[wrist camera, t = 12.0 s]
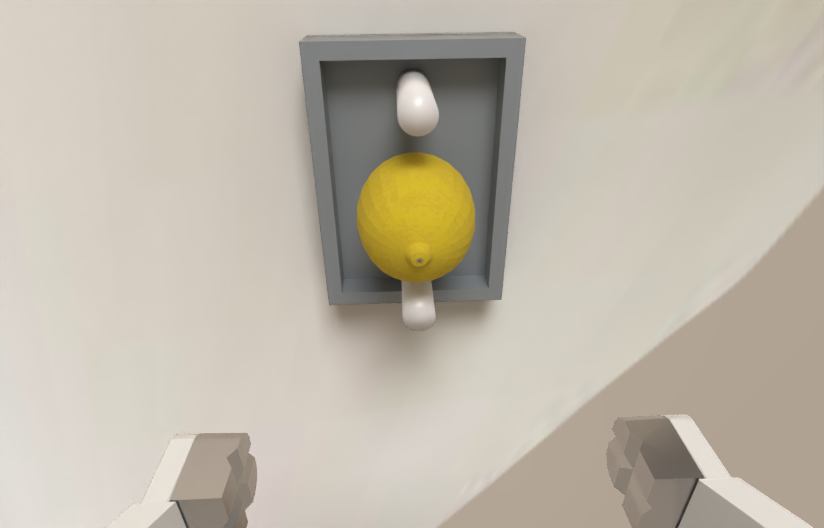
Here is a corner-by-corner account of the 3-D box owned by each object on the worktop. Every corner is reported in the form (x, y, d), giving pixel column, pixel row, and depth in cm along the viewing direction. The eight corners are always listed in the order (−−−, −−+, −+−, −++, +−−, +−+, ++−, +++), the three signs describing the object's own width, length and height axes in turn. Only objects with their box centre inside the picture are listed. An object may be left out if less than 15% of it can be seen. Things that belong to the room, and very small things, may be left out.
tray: (307, 35, 24) (279, 57, 18) (514, 31, 24) (554, 52, 18) (333, 281, 31) (319, 356, 25) (493, 277, 32) (518, 349, 25)
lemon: (360, 225, 28) (350, 312, 22) (362, 127, 25) (350, 193, 19) (458, 229, 29) (477, 317, 22) (470, 134, 26) (498, 201, 19)
